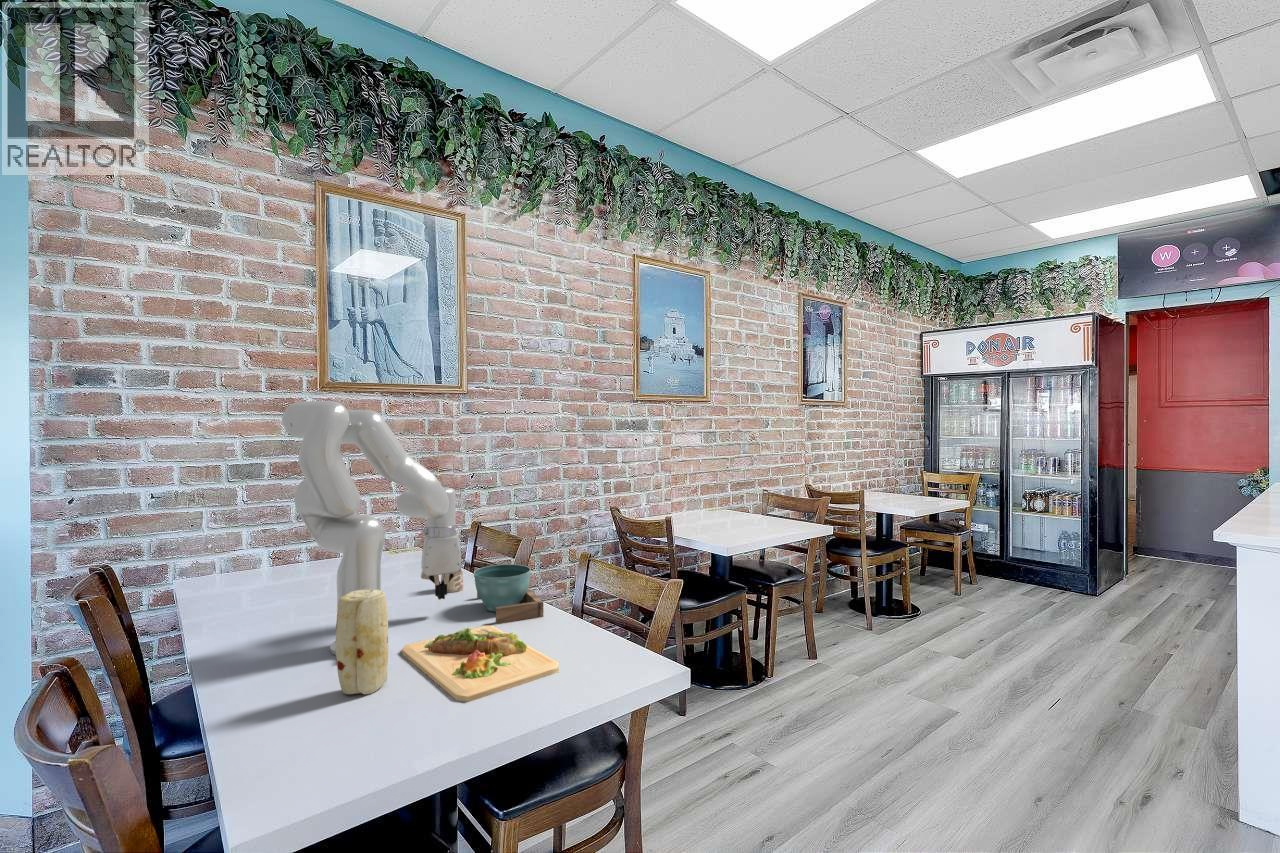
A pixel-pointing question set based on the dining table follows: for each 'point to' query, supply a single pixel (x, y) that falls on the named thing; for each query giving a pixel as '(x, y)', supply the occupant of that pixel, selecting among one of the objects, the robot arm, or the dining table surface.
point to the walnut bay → (520, 609)
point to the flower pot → (502, 584)
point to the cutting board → (479, 662)
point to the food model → (362, 641)
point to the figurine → (455, 584)
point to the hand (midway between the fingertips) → (441, 597)
